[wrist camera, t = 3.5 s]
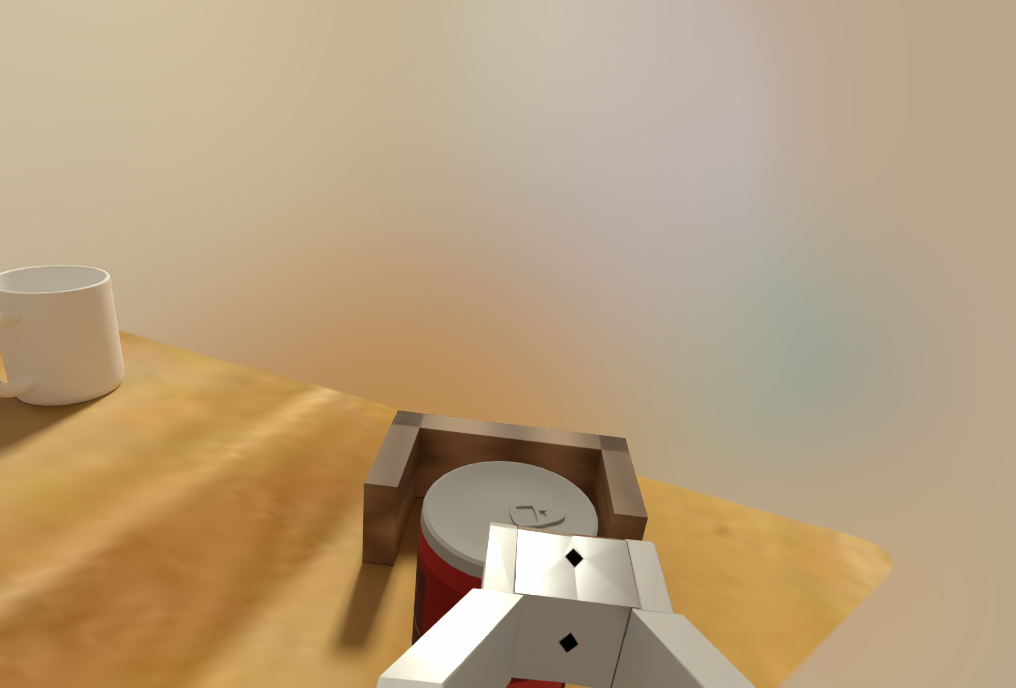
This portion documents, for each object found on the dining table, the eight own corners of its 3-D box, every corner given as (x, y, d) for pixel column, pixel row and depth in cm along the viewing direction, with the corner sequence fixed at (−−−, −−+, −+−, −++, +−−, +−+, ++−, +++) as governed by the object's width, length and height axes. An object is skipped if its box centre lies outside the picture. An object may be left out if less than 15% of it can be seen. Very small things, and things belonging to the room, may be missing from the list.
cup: (145, 372, 55) (131, 271, 51) (45, 436, 44) (18, 313, 40) (62, 361, 55) (42, 260, 51) (-59, 422, 44) (-96, 299, 40)
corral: (362, 561, 36) (363, 483, 34) (394, 477, 44) (398, 410, 42) (628, 593, 36) (647, 517, 34) (610, 504, 44) (625, 438, 42)
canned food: (591, 721, 28) (634, 546, 24) (437, 786, 24) (457, 594, 20) (522, 603, 34) (547, 448, 30) (391, 642, 31) (400, 473, 27)
